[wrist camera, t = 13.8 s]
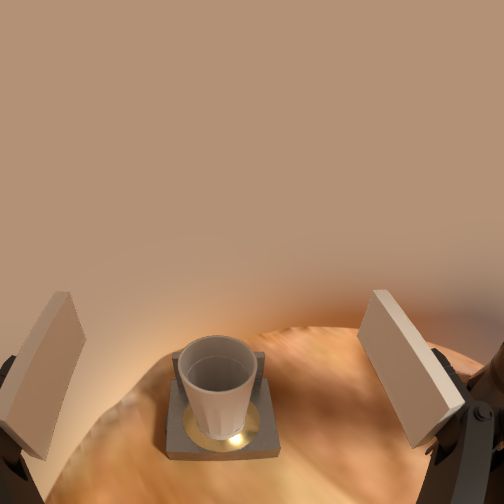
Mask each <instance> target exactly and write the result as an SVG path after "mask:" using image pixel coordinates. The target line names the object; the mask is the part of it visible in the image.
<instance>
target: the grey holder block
mask: <svg viewBox="0 0 504 504" xmlns="http://www.w3.org/2000/svg"><path fill="white" fill-rule="evenodd" d="M180 354H181V353H173V356H172V360H173V365H174V370H175V375H176V380H175V379H171V387H170V399H169V411H168V413H167V412H166V425H165V432H166V434H167V441H166V453H167V455H168V457H169V459H170V460H188V461H229V460H249V459H262V458H273V457H278V455H279V452H280V449H281V447H280V442H279V437H278V432H277V427H276V422H275V416H274V411H273V406H272V401H271V396H270V390H269V385H268V380H267V378H262V376H263V369H264V361H265V354H264V352H254V354H255V356H256V358H257V364H258V366H257V372H256V376H255V380H254V384H253V387H252V391H251V396H250V400H249V404H248V408H247V412H246V417H245V424H244V427H243V429H242V431H241V432H240V433H239V434H238V435H236V436H235V437H233V438H230V439H226V440H215V439H211V438H209V437H207V436H205V435H204V434H203V433H202V432H201V431H200V430H199V429H198V427H197V424H196V419H195V417H194V414H193V411H192V408H191V405H190V402H189V399H188V397H187V394H186V391H185V388H184V385H183V382H182V379H181V376H180V373H179V370H178V359H179V356H180Z"/></svg>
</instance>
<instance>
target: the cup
mask: <svg viewBox="0 0 504 504" xmlns="http://www.w3.org/2000/svg"><path fill="white" fill-rule="evenodd" d="M257 366H258V364H257V358H256V356H255V354H254V352H253V351H252V349H251V348H250V347H249V346H248V345H246V344H245V343H243V342H242V341H240V340H238V339H235V338H232V337H228V336H220V335H218V336H217V335H216V336H207V337H203V338H200V339H197V340H195V341H193V342H191V343H190V344H189V345H187V346H186V347H185V348H184V349H183V351H182V352H181V354H180V356H179V359H178V370H179V373H180V376H181V379H182V382H183V385H184V388H185V391H186V394H187V397H188V399H189V402H190V405H191V408H192V411H193V414H194V417H195V419H196V424H197V427H198V429H199V430H200V431H201V432H202V433H203V434H204V435H205V436H207V437H209V438H211V439H215V440H226V439H230V438H233V437H235V436H236V435H238V434H239V433H240V432H241V431H242V429H243V427H244V424H245V417H246V412H247V408H248V404H249V400H250V396H251V391H252V387H253V384H254V380H255V376H256V372H257Z"/></svg>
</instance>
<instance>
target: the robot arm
mask: <svg viewBox="0 0 504 504" xmlns="http://www.w3.org/2000/svg"><path fill="white" fill-rule="evenodd" d="M357 337H358V339H359V341H360V343H361V344H362V346H363V348H364V350H365V352H366V354H367V356H368V358H369V360H370V362H371V364H372V366H373V368H374V370H375V372H376V374H377V376H378V378H379V380H380V382H381V384H382V386H383V388H384V390H385V392H386V394H387V396H388V398H389V400H390V402H391V404H392V406H393V408H394V410H395V412H396V414H397V417H398V419H399V421H400V423H401V425H402V427H403V429H404V432H405V434H406V436H407V438H408V440H409V443H410V445H411V447H412V449H413V448H416V447H418V446H421V445H423V444H426V443H428V442H429V441H430V440H431V439H432V438H433V437H434V436H435V435H436V437H437V439H438V440H437V441H436V442H435V443H434V444H433V445H432V446H431V447H430V448H429V449H427V451H426V453H425V455H427V454H429V453H430V452H431V451H432V450H433V452H432V454H431V455H430V456H431V459H430V463H429V466H428V469H427V473H426V476H425V479H424V482H423V485H422V488H421V491H420V494H419V497H418V499H417V502H416V504H504V448H503V449H502V450H500V449H499V445H500V444H501V443H502V442H504V342H503V343H502V345H501V347H500V348H499V350H498V351H497V353H496V354H495V356H494V358H493V359H492V360H491V362H490V363H488V364H487V365H486V366H484V367H483V368H482V369H480V370H479V371H478V372H476V373H475V374H473V375H472V376H471V377H470V378H469V379H468V380H467V381H466V383H465V384H463V382H462V381H461V379H460V378H459V376H458V375H457V374H456V373H455V370H454V369H453V367H452V366H451V364H450V363H449V361H448V360H447V358H446V357H445V356H444V355H443V354H442V353H441V352H439V351H438V350H437V349H436V348H433V349H430V348H429V346H428V345H427V343H426V342H425V341H424V339H423V338H422V336H421V335H420V334H419V332H418V331H417V329H416V328H415V327H414V325H413V324H412V323H411V321H410V320H409V319H408V317H407V316H406V314H405V313H404V312H403V310H402V309H401V308H400V306H399V305H398V304H397V302H396V301H395V300H394V299H393V297H392V296H391V295H390V293H389V292H388V291H387V290H373V291H372V294H371V298H370V300H369V303H368V307H367V309H366V312H365V315H364V318H363V321H362V324H361V327H360V329H359V332H358V335H357ZM85 340H86V338H85V335H84V333H83V330H82V327H81V324H80V322H79V319H78V316H77V313H76V310H75V307H74V304H73V301H72V298H71V295H70V292H59V291H56V292H55V293H54V295H53V296H52V298H51V299H50V301H49V303H48V304H47V305H46V307H45V309H44V310H43V312H42V313H41V315H40V317H39V318H38V320H37V322H36V323H35V325H34V326H33V328H32V330H31V332H30V333H29V335H28V337H27V339H26V340H25V342H24V344H23V346H22V347H21V349H20V351H19V353H18V355H17V356H13V355H12V356H11V357H10V358H9V359H8V360H7V361H5V363H4V364H3V365H2V367H1V369H0V504H45V503H44V501H43V499H42V498H41V496H40V494H39V492H38V490H37V487H36V485H35V483H34V481H33V479H32V477H31V474H30V472H29V470H28V468H27V465H26V463H25V460H24V459H23V457H22V455H21V454H20V453H21V450H22V449H23V450H24V451H25V452H26V453H28V454H29V455H30V456H32V457H35V458H38V459H41V460H44V461H46V458H47V454H48V450H49V446H50V443H51V439H52V435H53V432H54V428H55V425H56V422H57V418H58V415H59V412H60V409H61V406H62V402H63V400H64V396H65V393H66V391H67V388H68V385H69V382H70V379H71V376H72V374H73V371H74V369H75V366H76V363H77V361H78V358H79V355H80V353H81V350H82V348H83V345H84V343H85Z"/></svg>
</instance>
